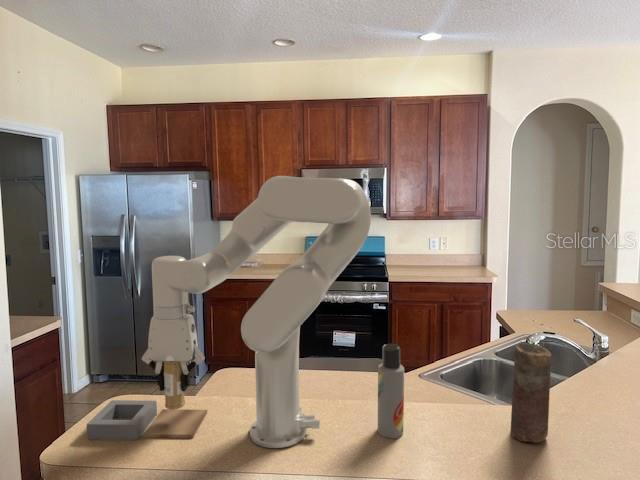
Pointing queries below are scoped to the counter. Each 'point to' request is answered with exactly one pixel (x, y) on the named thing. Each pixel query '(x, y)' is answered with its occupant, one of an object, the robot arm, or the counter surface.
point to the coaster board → (176, 424)
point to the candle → (530, 393)
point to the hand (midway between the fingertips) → (174, 387)
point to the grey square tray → (113, 429)
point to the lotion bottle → (390, 393)
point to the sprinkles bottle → (173, 384)
